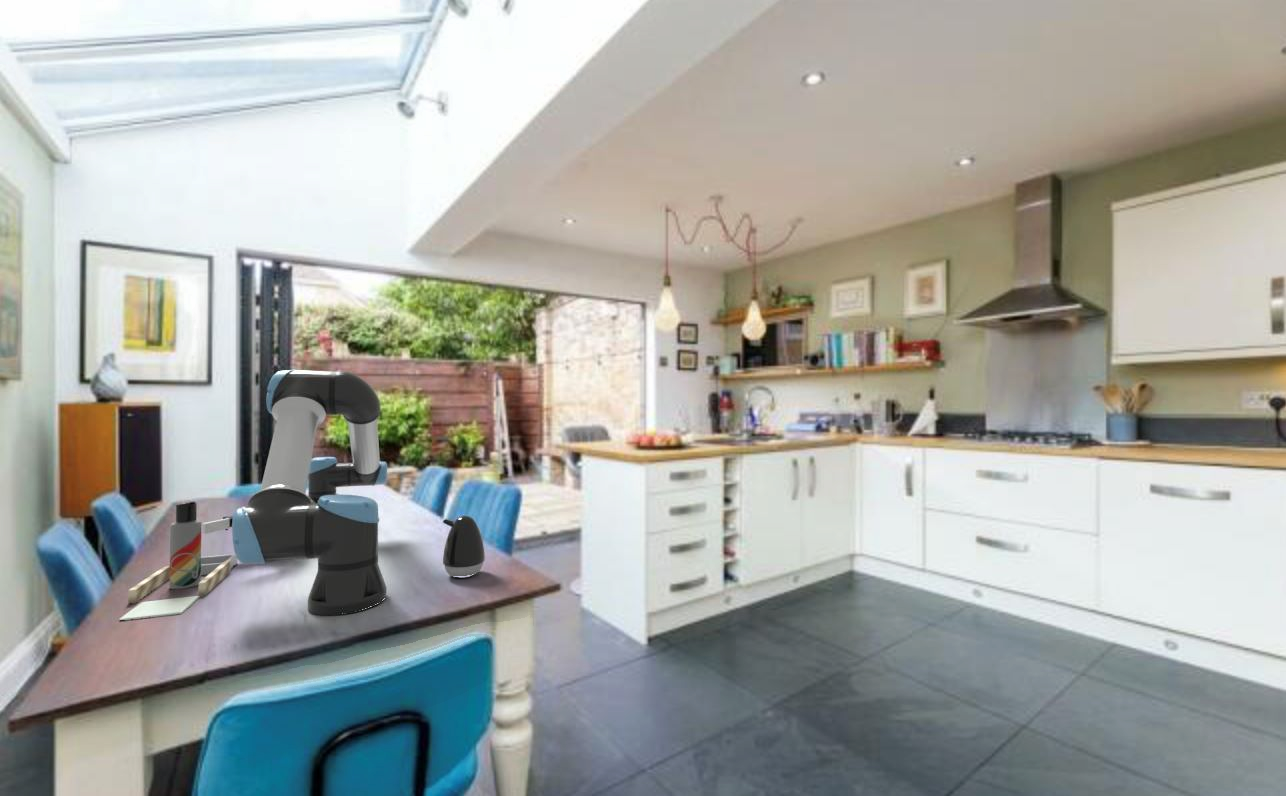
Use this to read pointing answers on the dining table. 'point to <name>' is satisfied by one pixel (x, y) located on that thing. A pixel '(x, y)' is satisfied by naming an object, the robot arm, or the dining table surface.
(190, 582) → the lotion bottle
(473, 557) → the pump dispenser
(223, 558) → the pit bin
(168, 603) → the pad
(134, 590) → the oak channel
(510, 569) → the dining table surface
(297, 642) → the dining table surface
